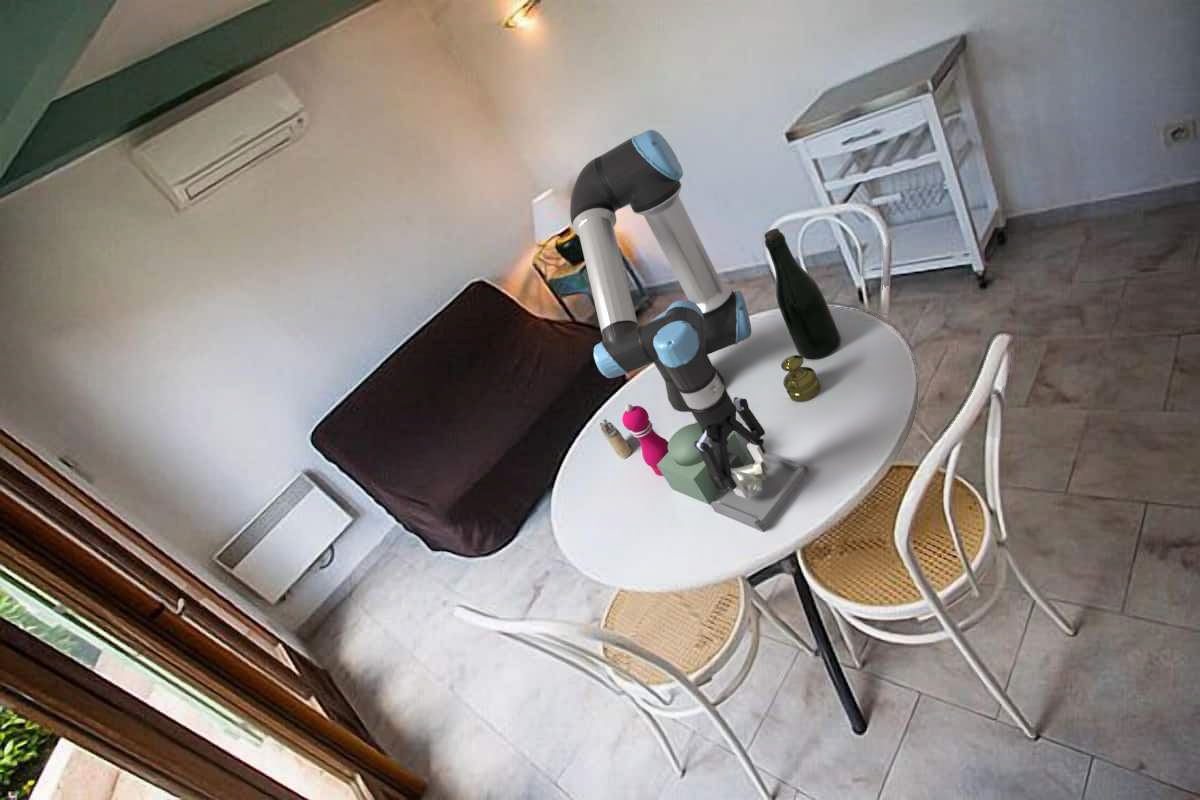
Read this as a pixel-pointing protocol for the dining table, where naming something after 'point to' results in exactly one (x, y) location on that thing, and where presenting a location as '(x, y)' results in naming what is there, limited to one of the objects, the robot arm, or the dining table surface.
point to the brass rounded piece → (800, 379)
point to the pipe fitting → (751, 476)
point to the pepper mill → (645, 436)
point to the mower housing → (696, 464)
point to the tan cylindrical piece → (615, 439)
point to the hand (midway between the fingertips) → (753, 481)
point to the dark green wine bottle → (801, 302)
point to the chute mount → (764, 494)
